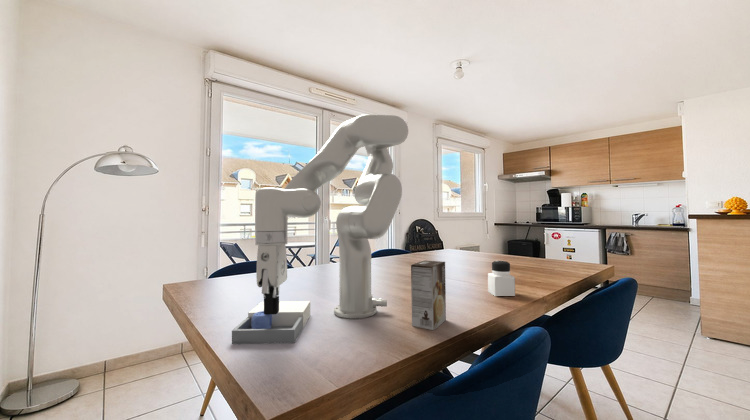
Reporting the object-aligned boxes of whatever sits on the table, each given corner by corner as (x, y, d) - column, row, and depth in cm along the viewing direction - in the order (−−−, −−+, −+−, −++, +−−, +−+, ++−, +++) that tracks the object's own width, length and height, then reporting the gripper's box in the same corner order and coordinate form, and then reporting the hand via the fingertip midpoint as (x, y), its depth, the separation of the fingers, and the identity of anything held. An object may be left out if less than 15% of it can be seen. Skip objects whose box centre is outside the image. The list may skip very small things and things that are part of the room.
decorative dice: (272, 310, 78) (268, 315, 74) (272, 326, 78) (268, 332, 74) (255, 311, 77) (251, 316, 73) (255, 327, 77) (251, 333, 73)
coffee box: (424, 316, 87) (424, 259, 87) (446, 320, 83) (446, 261, 84) (410, 326, 79) (410, 264, 79) (434, 331, 76) (433, 266, 76)
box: (303, 327, 78) (303, 316, 78) (294, 343, 69) (294, 329, 69) (247, 328, 78) (247, 316, 78) (231, 344, 68) (231, 330, 68)
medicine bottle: (515, 297, 106) (515, 262, 107) (495, 297, 107) (494, 262, 107) (507, 292, 114) (506, 259, 114) (487, 292, 114) (487, 259, 114)
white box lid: (310, 314, 88) (310, 301, 88) (303, 327, 78) (303, 311, 78) (261, 315, 88) (261, 301, 88) (248, 328, 78) (248, 312, 78)
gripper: (278, 240, 68) (278, 324, 67) (294, 236, 83) (294, 304, 82) (244, 241, 67) (243, 324, 67) (266, 236, 82) (266, 304, 82)
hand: (271, 313), depth 75 cm, fingers closed
